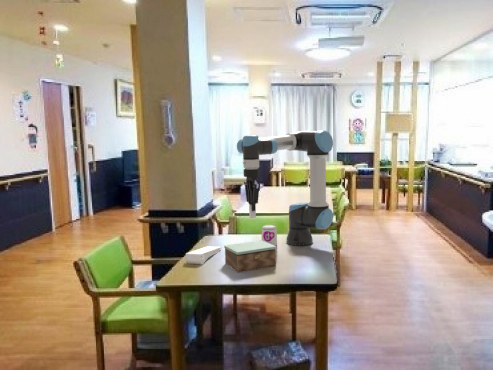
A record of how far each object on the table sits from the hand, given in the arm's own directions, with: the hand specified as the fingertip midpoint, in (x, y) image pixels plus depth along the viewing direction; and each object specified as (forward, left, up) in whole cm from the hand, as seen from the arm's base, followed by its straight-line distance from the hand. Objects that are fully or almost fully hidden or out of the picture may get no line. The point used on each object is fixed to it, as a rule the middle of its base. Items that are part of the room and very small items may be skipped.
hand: (252, 217), depth 208 cm
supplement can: (-17, -16, -25) cm, 34 cm away
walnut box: (0, -4, -24) cm, 25 cm away
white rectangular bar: (+15, -29, -25) cm, 41 cm away
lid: (0, -4, -16) cm, 16 cm away
